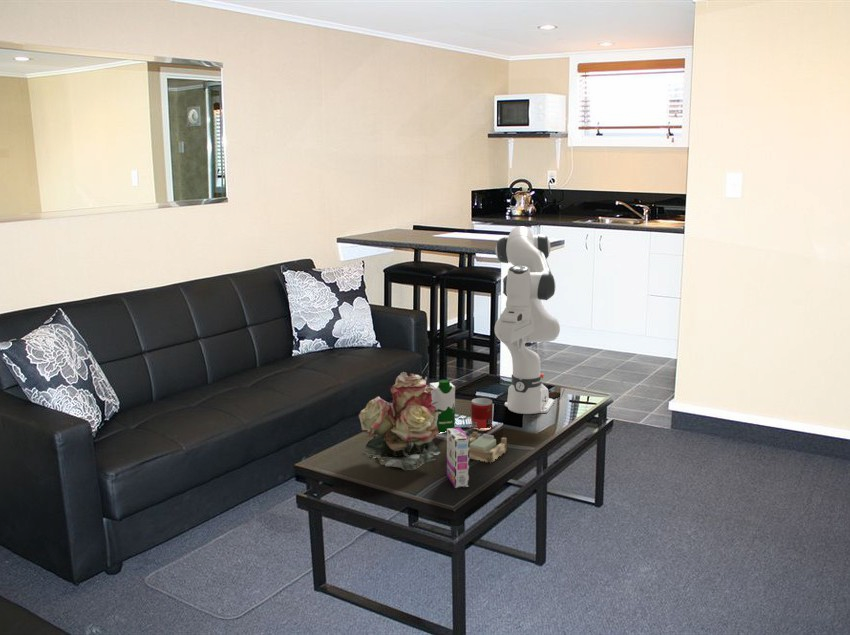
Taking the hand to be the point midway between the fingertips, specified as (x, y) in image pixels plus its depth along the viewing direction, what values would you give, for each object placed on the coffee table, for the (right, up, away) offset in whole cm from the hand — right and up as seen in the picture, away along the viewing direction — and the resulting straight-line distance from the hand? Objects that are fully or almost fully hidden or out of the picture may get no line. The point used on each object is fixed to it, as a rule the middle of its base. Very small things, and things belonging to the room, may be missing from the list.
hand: (517, 350), depth 290 cm
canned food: (-11, -31, +20) cm, 39 cm away
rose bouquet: (-40, -37, -6) cm, 55 cm away
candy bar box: (-22, -41, -27) cm, 54 cm away
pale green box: (-13, -36, -5) cm, 39 cm away
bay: (-13, -36, -4) cm, 39 cm away
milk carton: (-26, -31, +19) cm, 45 cm away
